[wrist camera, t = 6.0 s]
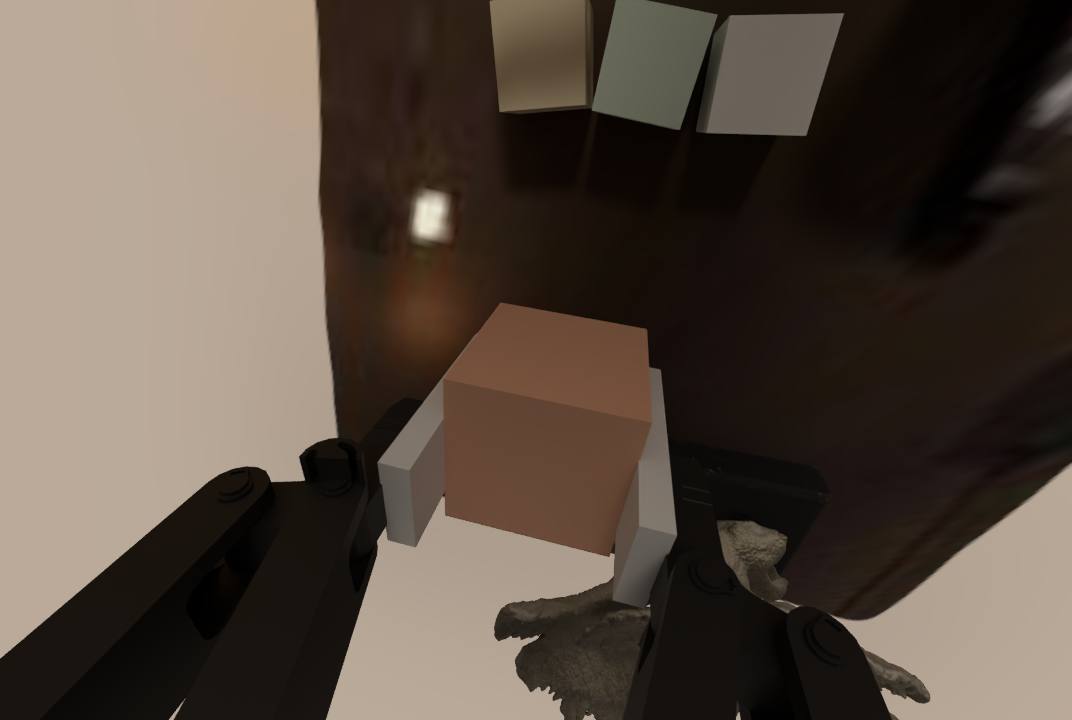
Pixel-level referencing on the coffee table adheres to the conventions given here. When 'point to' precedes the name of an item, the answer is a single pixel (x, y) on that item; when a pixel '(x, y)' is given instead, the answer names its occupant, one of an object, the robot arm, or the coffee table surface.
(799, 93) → the offwhite cube
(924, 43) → the coffee table surface
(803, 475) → the coral
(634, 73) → the sage cube
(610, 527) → the terracotta cube
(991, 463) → the coffee table surface
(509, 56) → the maple cube
